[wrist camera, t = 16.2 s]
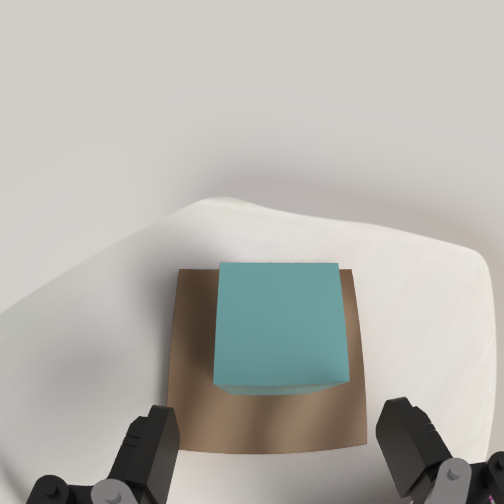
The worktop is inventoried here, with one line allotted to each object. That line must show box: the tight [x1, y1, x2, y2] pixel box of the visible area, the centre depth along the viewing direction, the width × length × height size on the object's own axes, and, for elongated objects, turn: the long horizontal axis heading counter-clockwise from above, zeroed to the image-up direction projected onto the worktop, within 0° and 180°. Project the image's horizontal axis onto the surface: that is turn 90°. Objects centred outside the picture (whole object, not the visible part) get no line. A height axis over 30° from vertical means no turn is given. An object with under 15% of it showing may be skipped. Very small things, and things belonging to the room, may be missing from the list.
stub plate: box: [167, 269, 367, 454], centre depth 22 cm, size 16×16×4 cm
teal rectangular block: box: [213, 263, 350, 395], centre depth 18 cm, size 6×6×11 cm
